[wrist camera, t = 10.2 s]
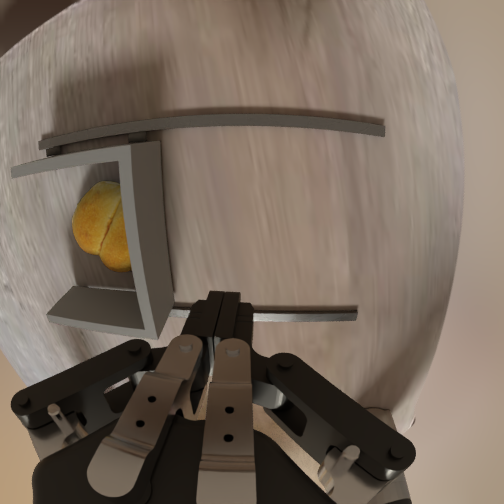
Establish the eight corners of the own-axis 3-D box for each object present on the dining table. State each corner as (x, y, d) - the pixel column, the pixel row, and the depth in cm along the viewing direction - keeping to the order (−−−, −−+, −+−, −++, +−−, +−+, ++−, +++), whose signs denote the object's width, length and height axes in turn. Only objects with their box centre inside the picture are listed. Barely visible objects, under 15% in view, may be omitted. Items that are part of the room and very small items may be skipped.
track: (383, 125, 21) (385, 126, 21) (354, 317, 29) (355, 320, 29) (41, 140, 22) (38, 141, 22) (71, 303, 30) (70, 305, 30)
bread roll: (138, 277, 28) (123, 297, 25) (75, 230, 26) (54, 244, 23) (176, 216, 26) (162, 231, 22) (104, 164, 24) (81, 171, 20)
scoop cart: (161, 130, 22) (130, 131, 16) (176, 307, 29) (159, 347, 23) (51, 148, 22) (9, 157, 16) (79, 297, 30) (52, 328, 24)
